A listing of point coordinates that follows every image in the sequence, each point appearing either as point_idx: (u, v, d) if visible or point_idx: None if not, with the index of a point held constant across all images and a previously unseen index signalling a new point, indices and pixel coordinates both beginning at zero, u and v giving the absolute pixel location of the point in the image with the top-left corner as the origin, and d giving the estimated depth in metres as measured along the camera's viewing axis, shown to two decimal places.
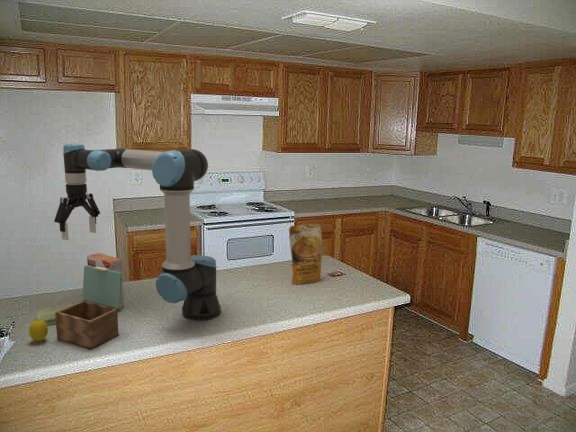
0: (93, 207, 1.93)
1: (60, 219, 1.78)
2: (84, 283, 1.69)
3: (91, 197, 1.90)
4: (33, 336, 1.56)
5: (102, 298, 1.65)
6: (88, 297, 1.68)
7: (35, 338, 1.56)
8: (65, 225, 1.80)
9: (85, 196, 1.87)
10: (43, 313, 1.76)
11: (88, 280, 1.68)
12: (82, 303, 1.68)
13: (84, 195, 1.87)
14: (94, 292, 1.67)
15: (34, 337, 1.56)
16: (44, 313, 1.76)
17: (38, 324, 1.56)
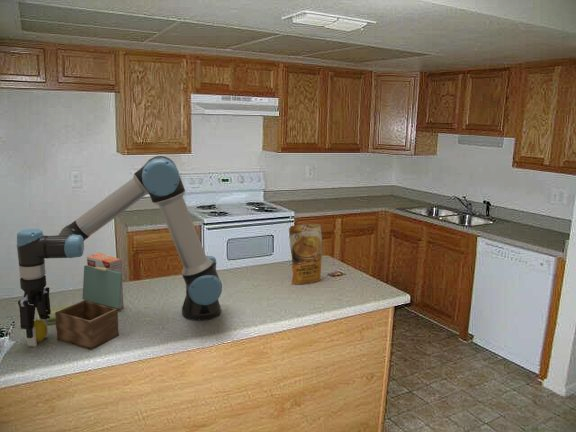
0: (45, 305, 1.61)
1: (28, 325, 1.51)
2: (84, 283, 1.69)
3: (47, 291, 1.61)
4: None
5: (102, 298, 1.65)
6: (88, 297, 1.68)
7: None
8: (33, 330, 1.54)
9: (43, 289, 1.58)
10: None
11: (88, 280, 1.68)
12: (82, 303, 1.68)
13: (42, 287, 1.58)
14: (94, 292, 1.67)
15: None
16: None
17: (37, 324, 1.56)
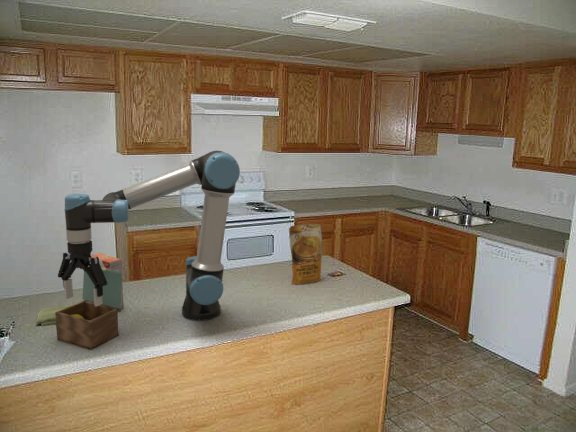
0: None
1: (59, 274, 1.60)
2: (84, 283, 1.69)
3: (91, 263, 1.52)
4: None
5: (102, 298, 1.65)
6: (88, 297, 1.68)
7: None
8: None
9: (85, 259, 1.54)
10: (44, 312, 1.77)
11: (88, 280, 1.68)
12: (82, 303, 1.68)
13: (83, 257, 1.54)
14: None
15: None
16: (45, 312, 1.77)
17: None
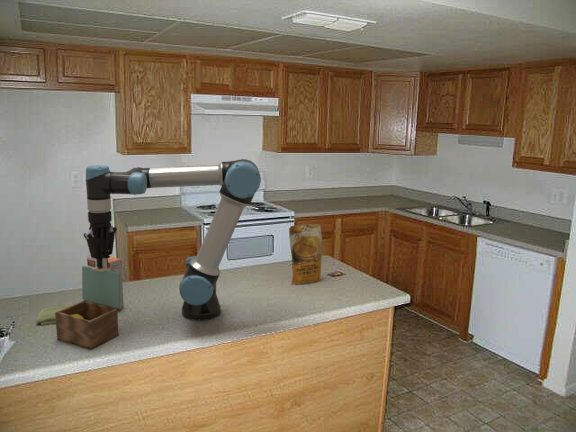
0: (109, 243, 1.66)
1: (96, 255, 1.61)
2: (83, 283, 1.68)
3: (114, 231, 1.67)
4: None
5: (102, 298, 1.65)
6: (88, 297, 1.68)
7: None
8: (103, 261, 1.64)
9: (110, 225, 1.65)
10: (44, 312, 1.77)
11: (87, 280, 1.67)
12: (82, 303, 1.68)
13: (109, 223, 1.64)
14: (93, 292, 1.67)
15: None
16: (45, 312, 1.77)
17: None
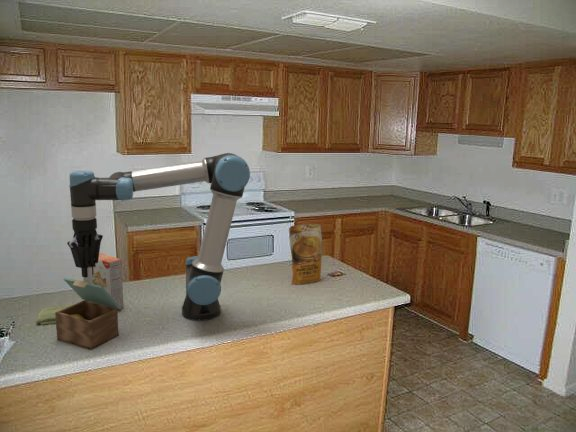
0: (94, 252, 1.61)
1: (81, 264, 1.55)
2: (74, 290, 1.65)
3: (99, 238, 1.61)
4: None
5: (99, 301, 1.64)
6: (86, 298, 1.67)
7: None
8: (88, 270, 1.58)
9: (95, 232, 1.59)
10: (45, 312, 1.77)
11: (76, 288, 1.63)
12: (82, 303, 1.68)
13: (95, 231, 1.59)
14: (88, 296, 1.65)
15: None
16: (46, 312, 1.77)
17: None
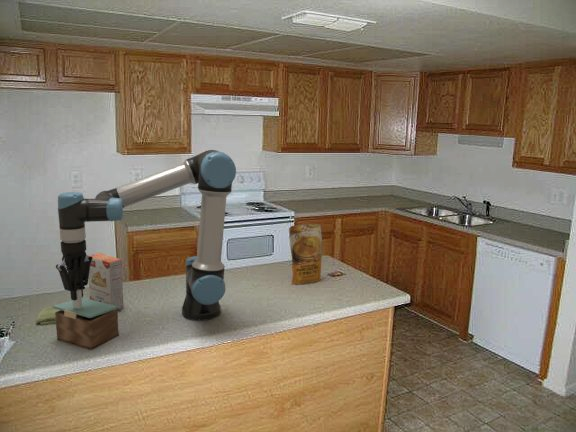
0: (84, 274, 1.58)
1: (70, 287, 1.52)
2: None
3: (89, 260, 1.58)
4: None
5: None
6: None
7: None
8: (77, 292, 1.55)
9: (84, 254, 1.56)
10: (45, 311, 1.78)
11: None
12: None
13: (84, 252, 1.56)
14: None
15: None
16: (46, 312, 1.78)
17: None
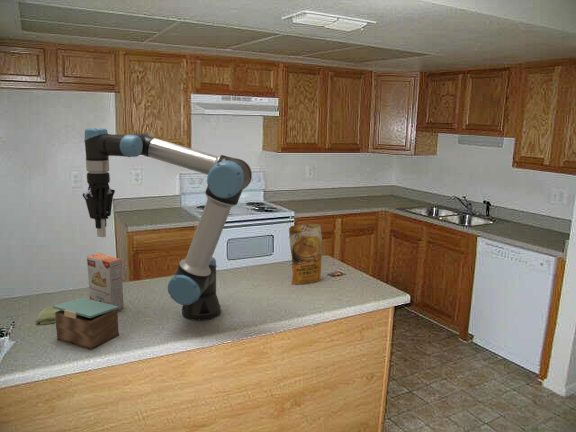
0: (107, 205, 1.72)
1: (95, 215, 1.66)
2: None
3: (112, 193, 1.72)
4: None
5: None
6: None
7: None
8: (101, 221, 1.69)
9: (108, 187, 1.70)
10: (45, 311, 1.78)
11: None
12: None
13: (108, 185, 1.70)
14: None
15: None
16: (46, 311, 1.78)
17: None
